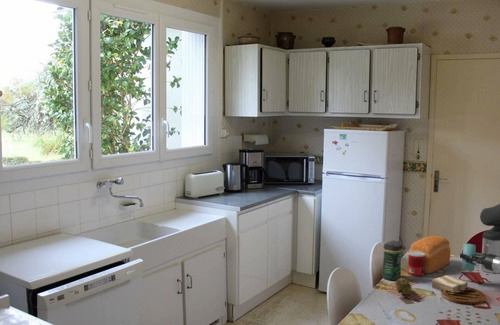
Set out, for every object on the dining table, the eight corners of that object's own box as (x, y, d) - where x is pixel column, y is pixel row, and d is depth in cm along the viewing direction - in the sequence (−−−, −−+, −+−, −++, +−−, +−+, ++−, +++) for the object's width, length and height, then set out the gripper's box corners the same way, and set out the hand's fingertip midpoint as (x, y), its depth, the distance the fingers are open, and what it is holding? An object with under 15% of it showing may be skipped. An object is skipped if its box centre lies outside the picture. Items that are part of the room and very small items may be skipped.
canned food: (425, 277, 246) (426, 256, 245) (408, 276, 247) (409, 254, 246) (422, 272, 253) (424, 251, 252) (406, 271, 255) (407, 250, 254)
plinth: (446, 283, 237) (446, 275, 237) (467, 290, 228) (467, 282, 228) (431, 287, 231) (432, 279, 231) (452, 294, 222) (453, 286, 222)
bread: (405, 268, 259) (406, 239, 257) (426, 258, 278) (428, 231, 276) (430, 275, 249) (432, 245, 248) (451, 264, 268) (452, 236, 266)
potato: (417, 292, 225) (418, 275, 224) (406, 300, 215) (407, 283, 214) (400, 288, 230) (401, 271, 229) (388, 296, 220) (389, 278, 219)
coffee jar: (395, 282, 238) (396, 245, 236) (379, 278, 243) (381, 242, 241) (402, 277, 246) (404, 241, 244) (388, 273, 251) (389, 238, 249)
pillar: (466, 266, 241) (467, 242, 240) (476, 269, 237) (478, 245, 235) (459, 268, 238) (461, 244, 237) (469, 271, 234) (471, 247, 232)
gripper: (506, 253, 228) (473, 244, 242) (489, 258, 220) (455, 249, 234) (505, 269, 229) (472, 259, 243) (488, 274, 221) (454, 264, 235)
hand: (464, 254), depth 239 cm, fingers closed on pillar, 5 cm apart
